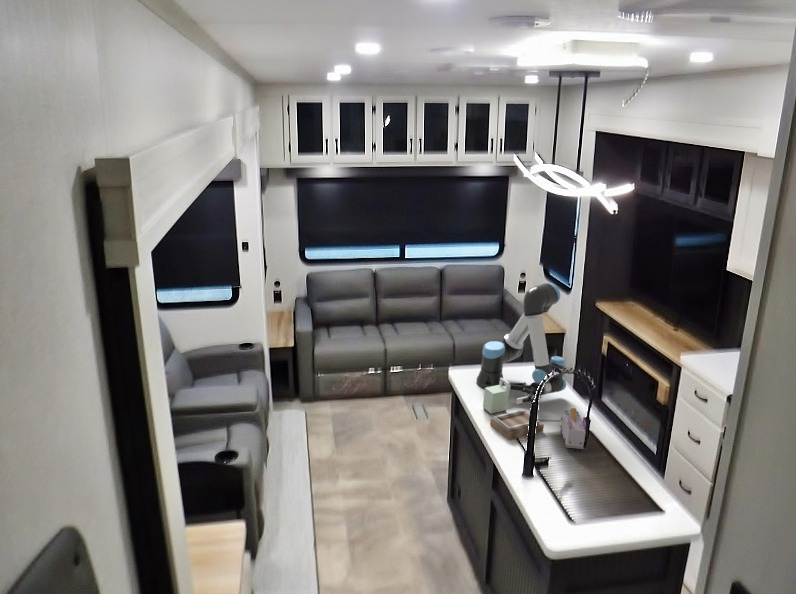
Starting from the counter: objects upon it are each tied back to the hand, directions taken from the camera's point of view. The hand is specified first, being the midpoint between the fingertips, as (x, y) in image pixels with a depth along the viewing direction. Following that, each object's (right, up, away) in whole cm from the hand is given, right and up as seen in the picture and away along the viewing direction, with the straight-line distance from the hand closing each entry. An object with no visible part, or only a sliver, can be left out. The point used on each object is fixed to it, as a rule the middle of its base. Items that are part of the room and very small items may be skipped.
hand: (508, 395), depth 317 cm
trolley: (-7, -7, 0) cm, 10 cm away
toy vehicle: (+25, -18, -24) cm, 39 cm away
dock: (+1, -13, -16) cm, 21 cm away
